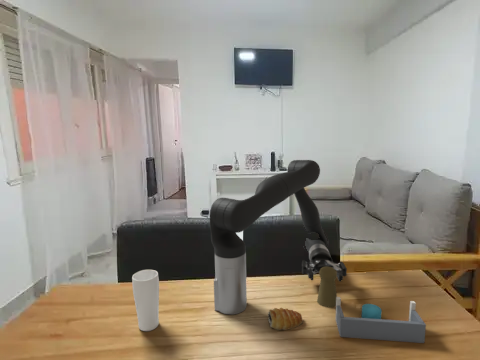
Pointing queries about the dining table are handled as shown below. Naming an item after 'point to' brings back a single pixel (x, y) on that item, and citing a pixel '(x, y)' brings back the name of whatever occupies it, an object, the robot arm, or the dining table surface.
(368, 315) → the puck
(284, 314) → the pastry
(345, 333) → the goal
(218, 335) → the dining table surface
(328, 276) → the cork
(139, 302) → the drinking glass
